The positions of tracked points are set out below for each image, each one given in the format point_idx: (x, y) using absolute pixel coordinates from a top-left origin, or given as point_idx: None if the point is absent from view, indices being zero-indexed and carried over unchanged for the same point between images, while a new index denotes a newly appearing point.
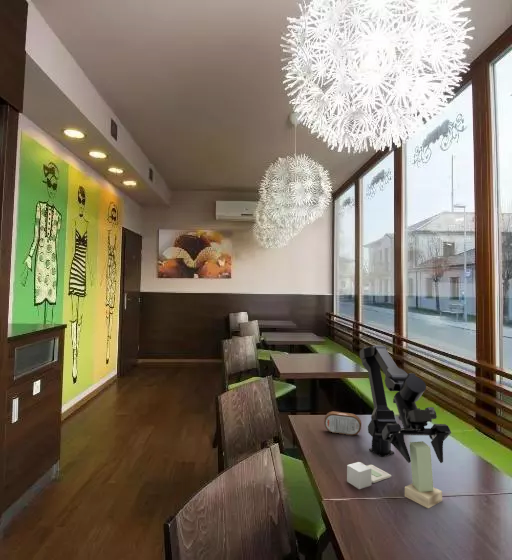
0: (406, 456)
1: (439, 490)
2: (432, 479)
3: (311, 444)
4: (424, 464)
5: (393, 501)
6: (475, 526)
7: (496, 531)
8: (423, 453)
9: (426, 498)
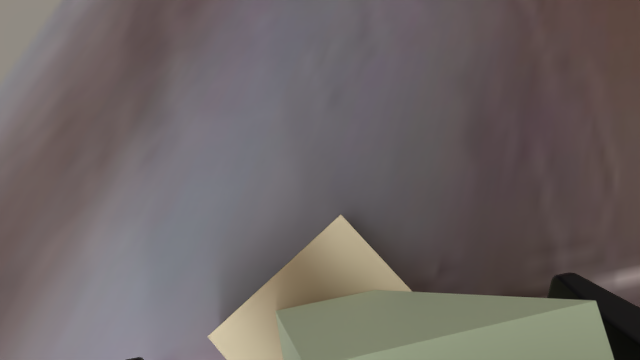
0: (633, 316)
1: (223, 344)
2: (280, 316)
3: None
4: (371, 312)
5: (518, 261)
6: (145, 99)
7: (59, 75)
8: (419, 322)
9: (348, 224)
